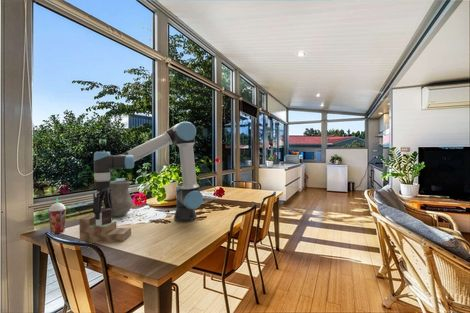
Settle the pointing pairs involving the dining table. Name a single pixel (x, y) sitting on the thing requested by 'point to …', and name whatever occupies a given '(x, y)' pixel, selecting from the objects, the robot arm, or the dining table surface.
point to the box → (105, 216)
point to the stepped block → (101, 231)
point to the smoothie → (57, 217)
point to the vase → (120, 198)
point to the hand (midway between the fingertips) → (103, 222)
